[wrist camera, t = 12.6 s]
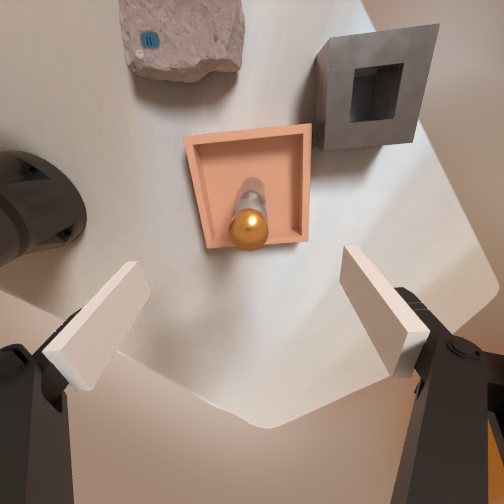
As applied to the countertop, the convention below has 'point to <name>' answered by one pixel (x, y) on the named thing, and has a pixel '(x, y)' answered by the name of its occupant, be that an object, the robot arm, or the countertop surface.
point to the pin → (250, 216)
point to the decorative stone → (182, 37)
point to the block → (386, 86)
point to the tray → (258, 166)
